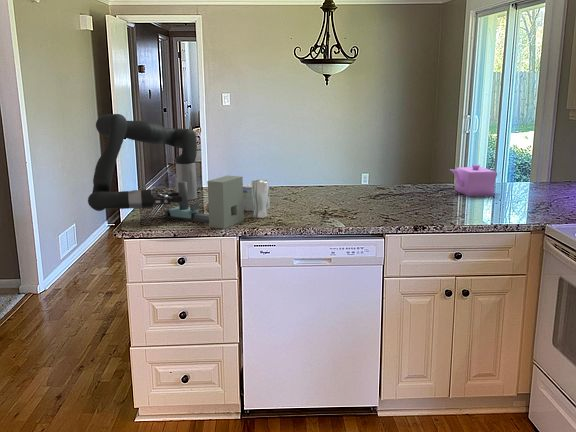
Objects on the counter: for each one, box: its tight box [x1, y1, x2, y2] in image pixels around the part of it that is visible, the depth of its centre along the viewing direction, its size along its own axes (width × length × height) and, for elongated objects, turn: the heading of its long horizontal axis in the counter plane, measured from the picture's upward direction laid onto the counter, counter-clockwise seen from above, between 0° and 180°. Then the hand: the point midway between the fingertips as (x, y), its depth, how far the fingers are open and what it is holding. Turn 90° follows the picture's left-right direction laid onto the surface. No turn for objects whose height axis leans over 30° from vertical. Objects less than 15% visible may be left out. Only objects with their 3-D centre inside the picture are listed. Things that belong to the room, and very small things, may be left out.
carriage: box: [168, 182, 200, 219], centre depth 228 cm, size 11×7×14 cm, turn 62°
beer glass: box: [251, 179, 269, 219], centre depth 230 cm, size 7×7×15 cm
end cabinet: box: [207, 174, 245, 230], centre depth 219 cm, size 8×14×18 cm, turn 152°
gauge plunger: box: [205, 203, 209, 214], centre depth 221 cm, size 10×4×4 cm, turn 62°
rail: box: [164, 207, 209, 224], centre depth 228 cm, size 25×5×3 cm, turn 62°
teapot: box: [449, 164, 498, 197], centre depth 273 cm, size 15×25×14 cm, turn 98°
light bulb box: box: [243, 183, 271, 212], centre depth 243 cm, size 11×7×11 cm, turn 71°
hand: (181, 196), depth 228 cm, fingers open, 8 cm apart
